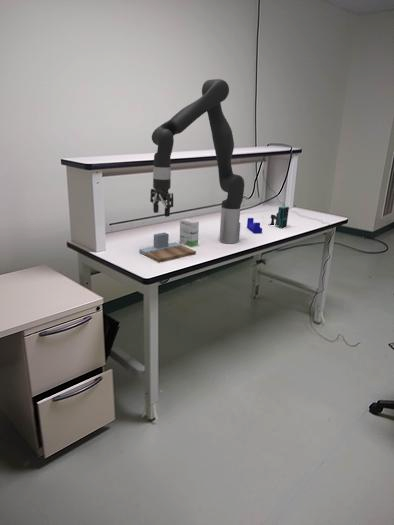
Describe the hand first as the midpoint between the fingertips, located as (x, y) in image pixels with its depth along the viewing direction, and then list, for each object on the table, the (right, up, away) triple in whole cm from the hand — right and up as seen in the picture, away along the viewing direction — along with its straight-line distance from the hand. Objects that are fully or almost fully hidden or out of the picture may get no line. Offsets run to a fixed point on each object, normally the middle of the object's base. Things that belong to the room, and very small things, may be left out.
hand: (161, 214), depth 178 cm
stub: (-1, -16, +6) cm, 17 cm away
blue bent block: (+48, -4, +46) cm, 66 cm away
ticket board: (+4, -18, 0) cm, 19 cm away
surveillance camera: (+63, 0, +57) cm, 85 cm away
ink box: (+12, -13, +17) cm, 24 cm away
